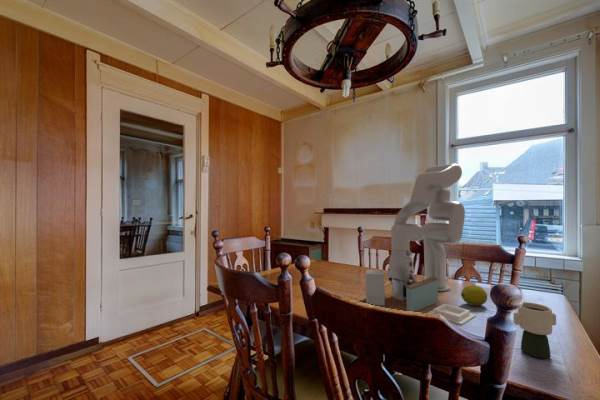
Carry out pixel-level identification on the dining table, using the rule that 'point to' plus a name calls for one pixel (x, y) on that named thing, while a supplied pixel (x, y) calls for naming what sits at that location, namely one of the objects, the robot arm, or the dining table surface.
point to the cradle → (454, 313)
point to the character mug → (535, 328)
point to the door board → (422, 294)
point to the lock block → (398, 289)
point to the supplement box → (375, 287)
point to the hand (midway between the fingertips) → (401, 294)
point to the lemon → (474, 295)
